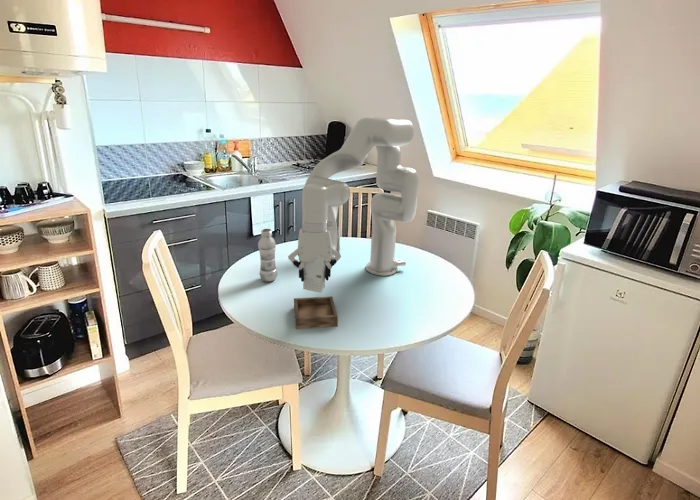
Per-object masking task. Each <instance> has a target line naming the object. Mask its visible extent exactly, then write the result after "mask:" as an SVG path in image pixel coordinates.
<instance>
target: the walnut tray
mask: <svg viewBox="0 0 700 500" xmlns="http://www.w3.org/2000/svg"><path fill="white" fill-rule="evenodd" d="M293 310H294V321H295V329H297V330H298V329H314V328H329V327H338V321H339V320H338V318H339V317H338V316H339V315H338V313H337V308H336V305H335V300H334V297H333V296H315V297H296V298H293Z"/></svg>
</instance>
